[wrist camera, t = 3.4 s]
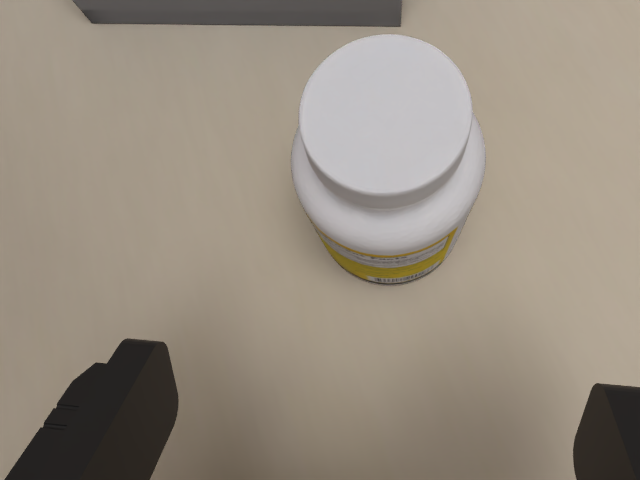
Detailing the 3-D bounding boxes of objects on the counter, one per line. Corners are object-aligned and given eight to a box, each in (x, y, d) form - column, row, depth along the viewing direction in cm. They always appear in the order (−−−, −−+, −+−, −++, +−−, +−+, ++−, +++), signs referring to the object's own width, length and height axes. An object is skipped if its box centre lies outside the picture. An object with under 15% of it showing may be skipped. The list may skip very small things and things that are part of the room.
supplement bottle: (372, 130, 23) (362, -34, 14) (486, 204, 22) (560, 80, 12) (292, 234, 23) (222, 139, 13) (403, 316, 21) (416, 276, 12)
